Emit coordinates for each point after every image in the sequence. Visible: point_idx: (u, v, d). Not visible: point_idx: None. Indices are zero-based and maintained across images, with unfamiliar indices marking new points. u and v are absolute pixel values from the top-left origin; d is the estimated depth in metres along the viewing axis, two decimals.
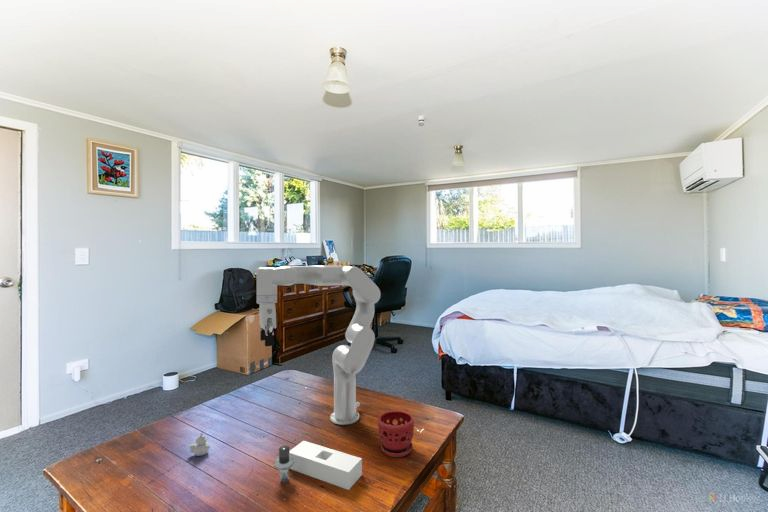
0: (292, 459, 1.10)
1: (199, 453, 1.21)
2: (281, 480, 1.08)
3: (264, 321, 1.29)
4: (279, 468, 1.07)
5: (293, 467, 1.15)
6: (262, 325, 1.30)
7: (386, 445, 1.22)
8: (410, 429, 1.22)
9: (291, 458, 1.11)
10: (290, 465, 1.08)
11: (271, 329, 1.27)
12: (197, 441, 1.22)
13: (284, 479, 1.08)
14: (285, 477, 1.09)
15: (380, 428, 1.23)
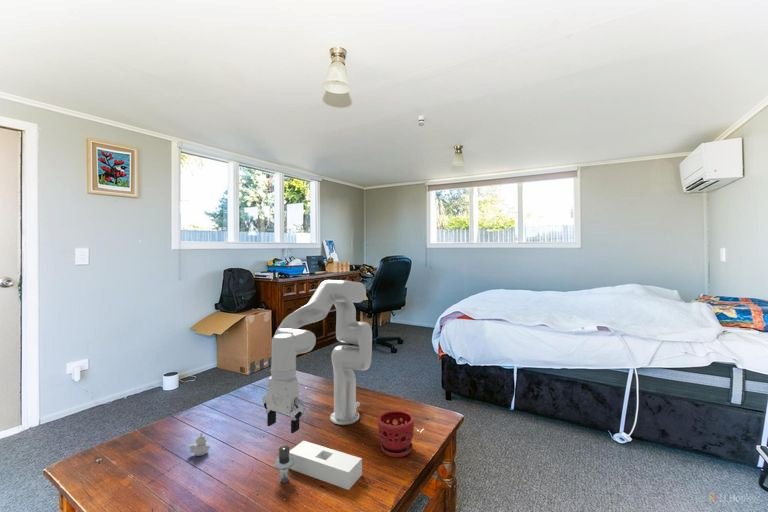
0: (292, 459, 1.10)
1: (199, 453, 1.21)
2: (281, 480, 1.08)
3: None
4: (279, 468, 1.07)
5: (293, 467, 1.15)
6: None
7: (386, 445, 1.22)
8: (410, 429, 1.22)
9: (291, 458, 1.11)
10: (290, 465, 1.08)
11: None
12: (197, 441, 1.22)
13: (284, 479, 1.08)
14: (285, 477, 1.09)
15: (380, 428, 1.23)
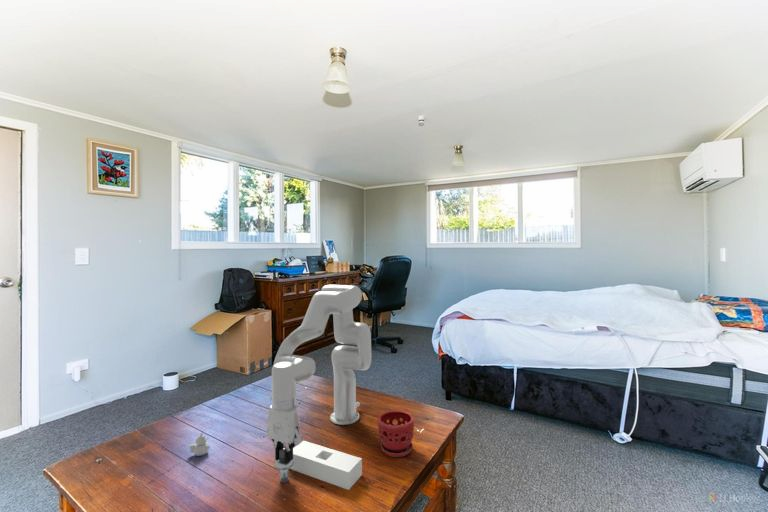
0: (292, 459, 1.10)
1: (199, 453, 1.21)
2: (281, 480, 1.08)
3: None
4: (279, 468, 1.07)
5: (293, 467, 1.15)
6: None
7: (386, 445, 1.22)
8: (410, 429, 1.22)
9: None
10: (290, 465, 1.08)
11: None
12: (197, 441, 1.22)
13: (284, 479, 1.08)
14: (285, 477, 1.09)
15: (380, 428, 1.23)
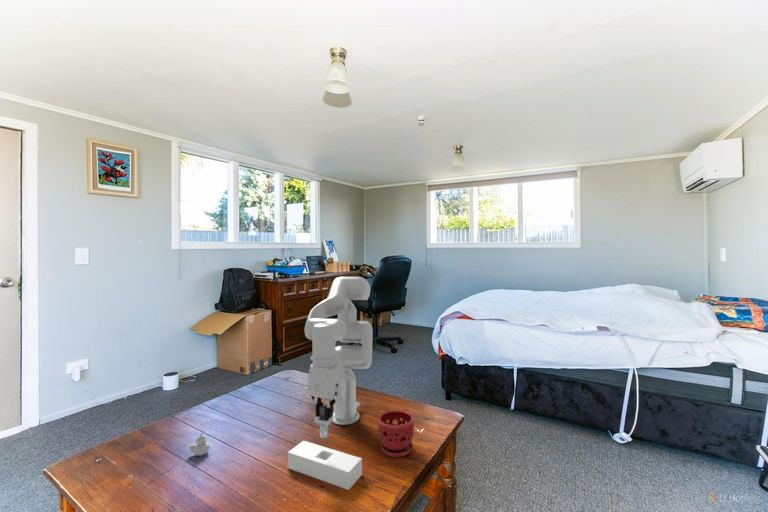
0: None
1: (199, 453, 1.21)
2: (321, 436, 1.12)
3: None
4: (320, 424, 1.11)
5: (293, 467, 1.15)
6: None
7: (386, 445, 1.22)
8: (410, 429, 1.22)
9: None
10: (330, 421, 1.12)
11: None
12: (197, 441, 1.22)
13: (324, 435, 1.12)
14: (325, 433, 1.12)
15: (380, 428, 1.23)
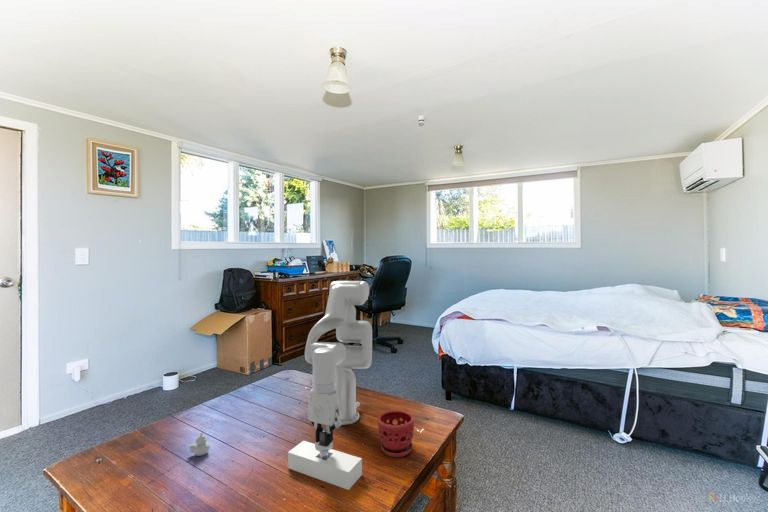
0: (331, 442, 1.14)
1: (199, 453, 1.21)
2: None
3: None
4: (320, 450, 1.11)
5: (293, 467, 1.15)
6: None
7: (386, 445, 1.22)
8: (410, 429, 1.22)
9: None
10: (330, 447, 1.12)
11: None
12: (197, 441, 1.22)
13: None
14: (325, 458, 1.12)
15: (380, 428, 1.23)
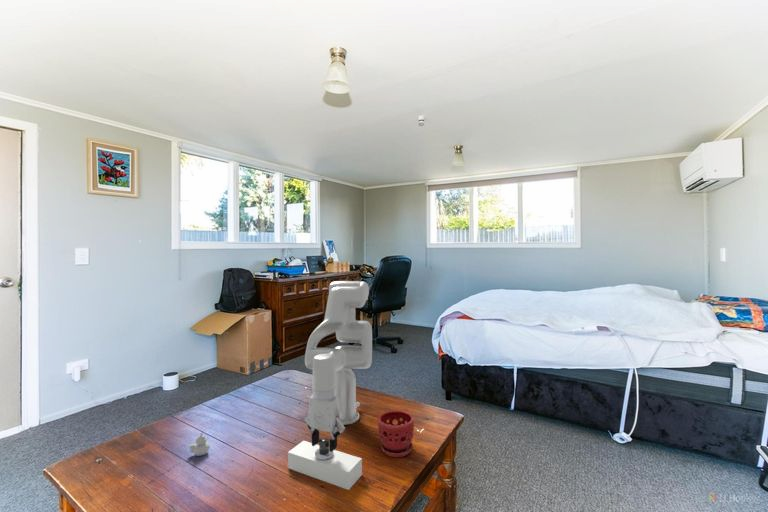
0: None
1: (199, 453, 1.21)
2: None
3: None
4: (320, 459, 1.11)
5: (293, 467, 1.15)
6: None
7: (386, 445, 1.22)
8: (410, 429, 1.22)
9: None
10: (330, 456, 1.12)
11: None
12: (197, 441, 1.22)
13: None
14: None
15: (380, 428, 1.23)
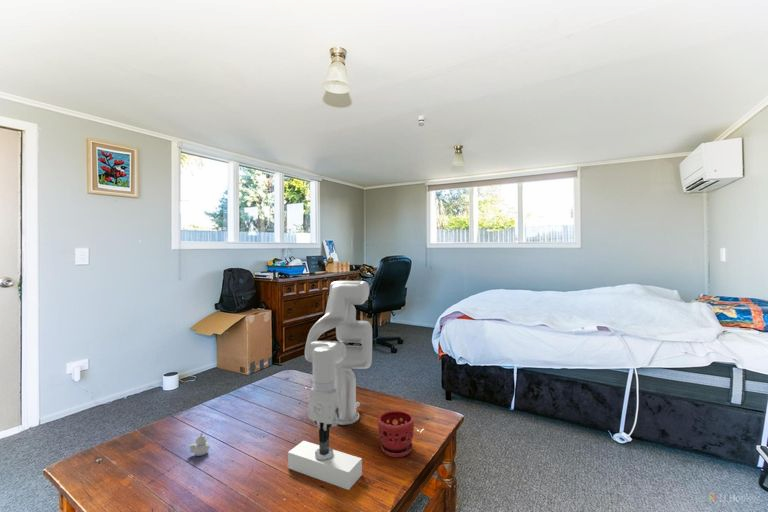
0: (331, 450, 1.14)
1: (199, 453, 1.21)
2: None
3: None
4: (320, 459, 1.11)
5: (293, 467, 1.15)
6: None
7: (386, 445, 1.22)
8: (410, 429, 1.22)
9: (330, 450, 1.15)
10: (330, 456, 1.12)
11: None
12: (197, 441, 1.22)
13: None
14: None
15: (380, 428, 1.23)
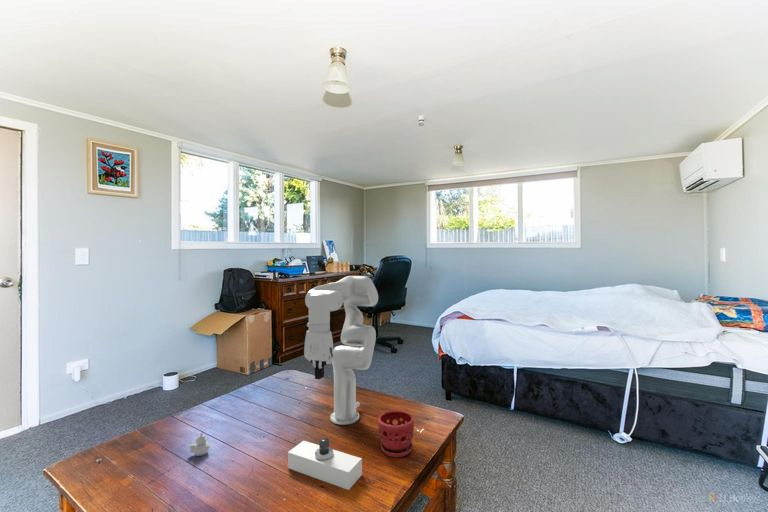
0: (331, 450, 1.14)
1: (199, 453, 1.21)
2: None
3: None
4: (320, 459, 1.11)
5: (293, 467, 1.15)
6: None
7: (386, 445, 1.22)
8: (410, 429, 1.22)
9: (330, 450, 1.15)
10: (330, 456, 1.12)
11: None
12: (197, 441, 1.22)
13: None
14: None
15: (380, 428, 1.23)
